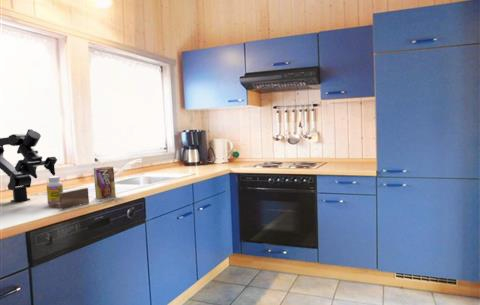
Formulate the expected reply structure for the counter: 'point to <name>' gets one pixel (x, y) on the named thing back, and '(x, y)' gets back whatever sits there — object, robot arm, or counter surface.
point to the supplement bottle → (54, 189)
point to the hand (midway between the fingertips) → (45, 176)
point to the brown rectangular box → (71, 199)
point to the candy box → (104, 182)
